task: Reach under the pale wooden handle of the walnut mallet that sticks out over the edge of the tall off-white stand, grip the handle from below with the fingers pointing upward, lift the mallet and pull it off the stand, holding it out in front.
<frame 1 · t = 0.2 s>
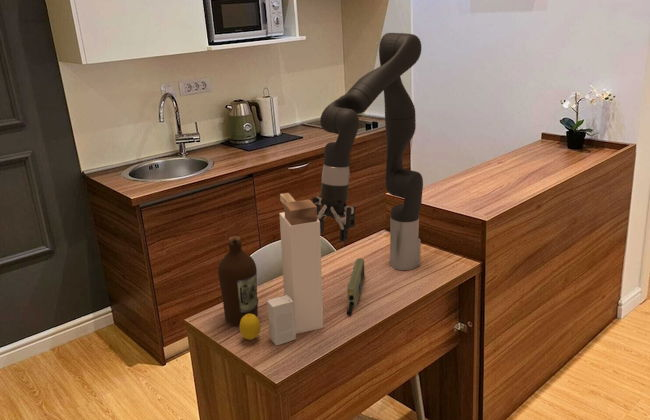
hand: (331, 237, 162), 23 cm above the table, tool pointing down, fingers open, 8 cm apart
handheld radio: (355, 296, 177), on the table
lemon: (251, 340, 156), on the table
mallet: (300, 219, 151), point 32 cm above the table, touching stand
stand: (304, 321, 164), on the table
olive oil: (241, 317, 167), on the table
skincare box: (282, 339, 156), on the table
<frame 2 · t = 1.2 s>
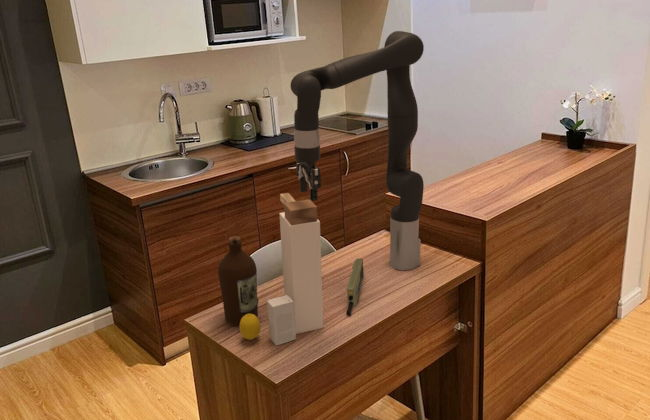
hand: (308, 195, 174), 29 cm above the table, tool pointing down, fingers open, 8 cm apart
nothing on the table moved.
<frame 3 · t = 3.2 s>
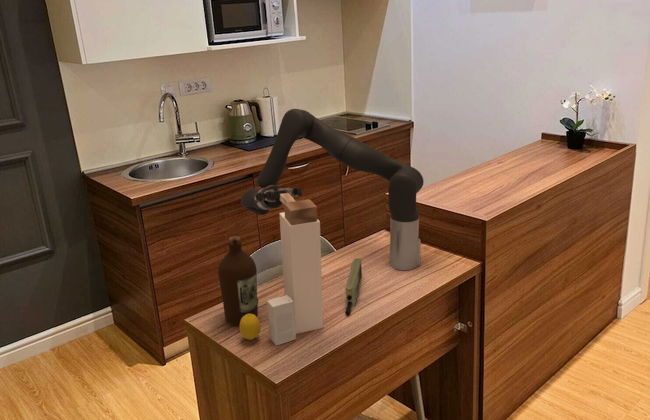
hand: (285, 192, 172), 31 cm above the table, tool pointing upward, fingers open, 8 cm apart
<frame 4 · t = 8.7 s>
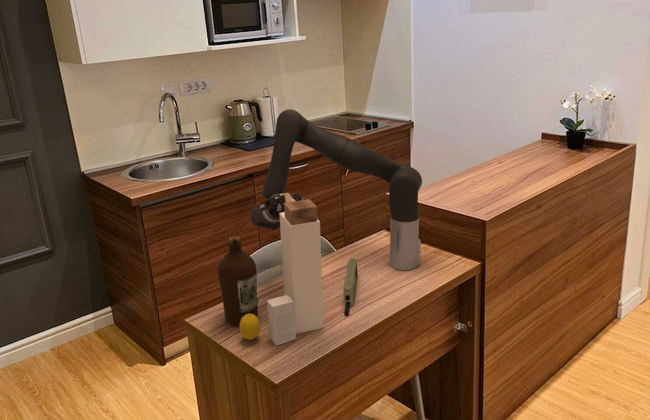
hand: (289, 197, 159), 34 cm above the table, tool pointing upward, fingers closed on mallet, 2 cm apart
mallet: (300, 219, 151), point 32 cm above the table, touching gripper, stand
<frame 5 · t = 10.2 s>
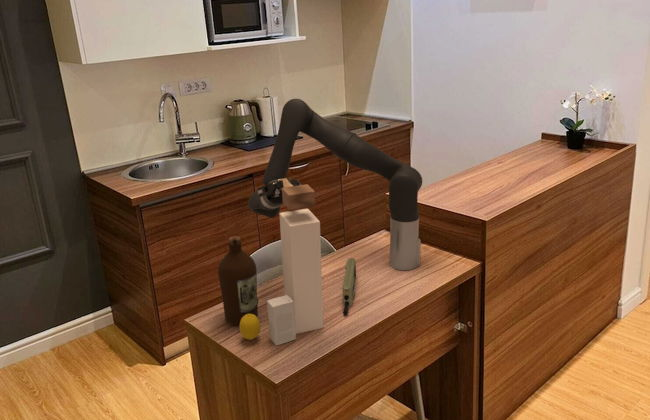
hand: (287, 182, 159), 38 cm above the table, tool pointing upward, fingers closed on mallet, 2 cm apart
mallet: (298, 204, 150), point 36 cm above the table, touching gripper
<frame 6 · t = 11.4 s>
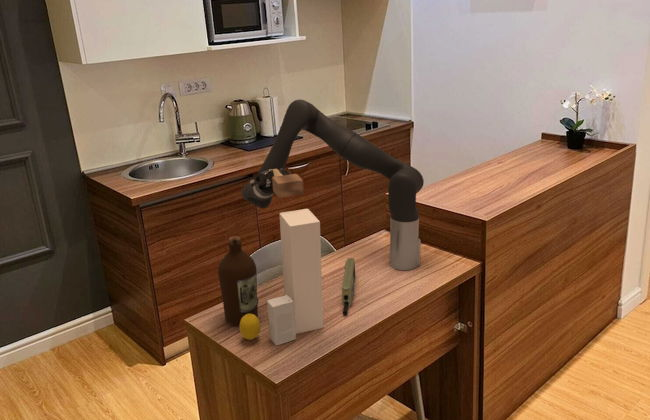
hand: (277, 172, 167), 38 cm above the table, tool pointing upward, fingers closed on mallet, 2 cm apart
mallet: (288, 192, 159), point 36 cm above the table, touching gripper
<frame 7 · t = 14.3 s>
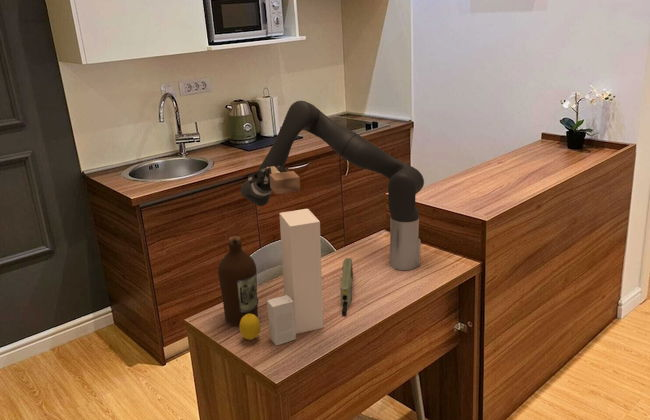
hand: (274, 169, 170), 38 cm above the table, tool pointing upward, fingers closed on mallet, 2 cm apart
mallet: (285, 189, 162), point 36 cm above the table, touching gripper
at the end: the gripper is holding mallet; mallet touching gripper; mallet moved 14.6 cm from its start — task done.
